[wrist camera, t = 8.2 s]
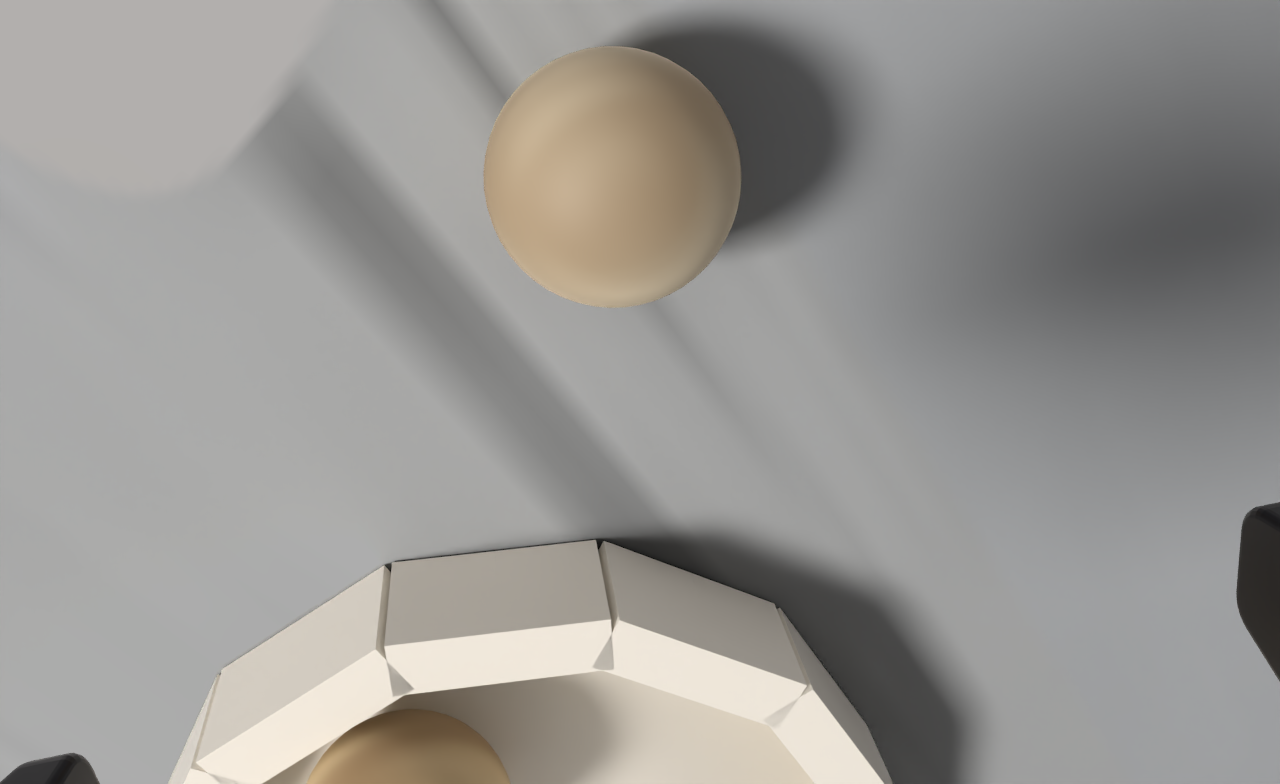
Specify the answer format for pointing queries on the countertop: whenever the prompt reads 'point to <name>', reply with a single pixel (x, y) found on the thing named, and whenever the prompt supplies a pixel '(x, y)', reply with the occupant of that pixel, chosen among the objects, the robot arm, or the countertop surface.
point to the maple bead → (612, 176)
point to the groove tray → (544, 677)
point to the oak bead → (410, 752)
